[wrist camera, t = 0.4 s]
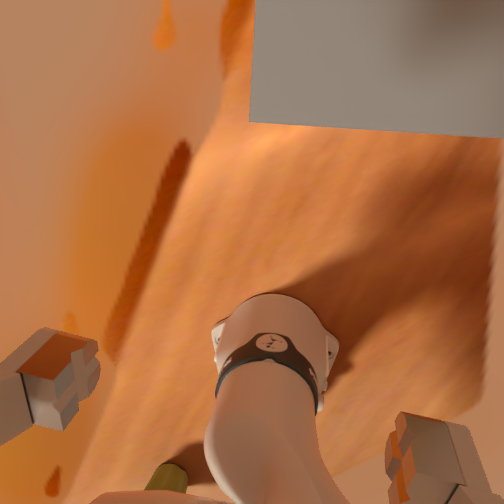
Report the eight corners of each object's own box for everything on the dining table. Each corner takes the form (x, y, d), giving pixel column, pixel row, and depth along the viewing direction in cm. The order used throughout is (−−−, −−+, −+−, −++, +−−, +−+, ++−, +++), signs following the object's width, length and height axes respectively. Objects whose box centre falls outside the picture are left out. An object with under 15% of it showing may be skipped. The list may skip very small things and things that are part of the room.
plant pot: (193, 455, 66) (178, 502, 58) (201, 496, 69) (187, 546, 61) (143, 454, 67) (121, 499, 59) (152, 493, 70) (132, 542, 62)
